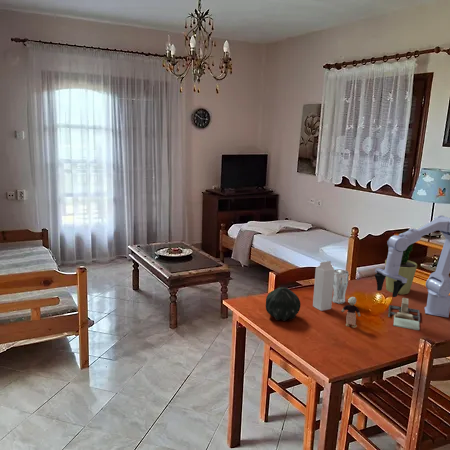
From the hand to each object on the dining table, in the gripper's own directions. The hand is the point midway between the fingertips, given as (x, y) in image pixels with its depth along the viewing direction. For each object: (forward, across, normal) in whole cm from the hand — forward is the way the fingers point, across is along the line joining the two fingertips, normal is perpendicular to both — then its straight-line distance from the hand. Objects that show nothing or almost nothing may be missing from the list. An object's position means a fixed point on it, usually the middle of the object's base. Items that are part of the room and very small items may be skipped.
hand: (386, 293), depth 190 cm
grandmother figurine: (+13, -2, -19) cm, 23 cm away
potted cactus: (+8, -16, +36) cm, 41 cm away
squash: (+16, -23, -37) cm, 47 cm away
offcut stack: (+10, +6, +8) cm, 14 cm away
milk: (+14, -21, -15) cm, 29 cm away
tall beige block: (+10, +3, +13) cm, 16 cm away
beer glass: (+12, -22, -2) cm, 26 cm away
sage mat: (+10, +10, +3) cm, 15 cm away
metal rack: (+10, +4, +11) cm, 15 cm away
